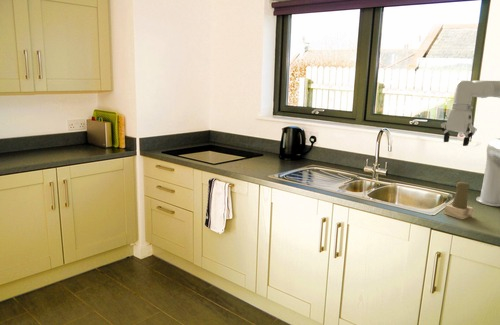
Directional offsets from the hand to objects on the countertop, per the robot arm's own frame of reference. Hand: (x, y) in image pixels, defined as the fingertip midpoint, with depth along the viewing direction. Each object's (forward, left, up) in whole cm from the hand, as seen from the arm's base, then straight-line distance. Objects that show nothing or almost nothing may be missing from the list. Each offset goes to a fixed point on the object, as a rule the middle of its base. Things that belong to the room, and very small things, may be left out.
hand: (455, 143), depth 200 cm
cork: (+15, +15, -24) cm, 32 cm away
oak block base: (+15, +15, -28) cm, 35 cm away
